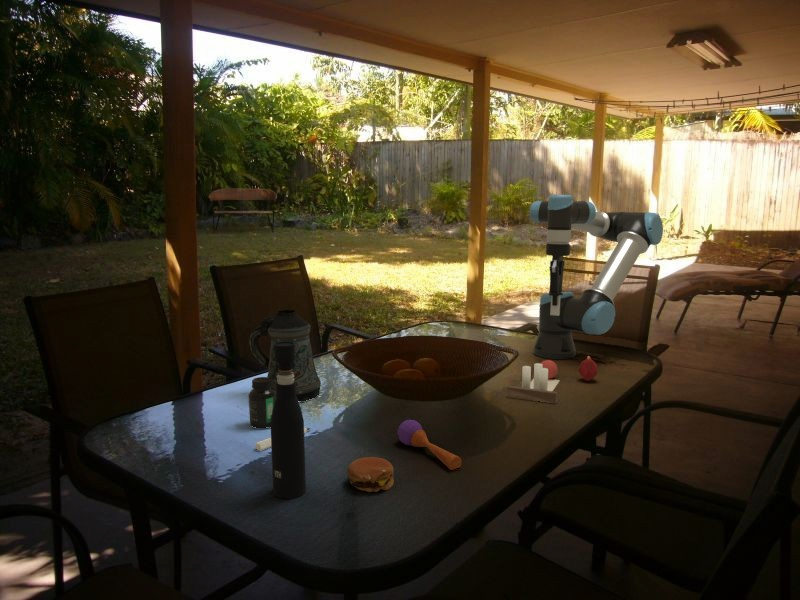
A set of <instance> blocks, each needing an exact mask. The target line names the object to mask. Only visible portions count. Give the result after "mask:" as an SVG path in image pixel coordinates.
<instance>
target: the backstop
mask: <svg viewBox="0 0 800 600" xmlns="http://www.w3.org/2000/svg"><path fill="white" fill-rule="evenodd" d="M506 398H510V399H516V400H525V401H531V400H532V401H533V402H538V401H540V402H541V403H545V402H546V403H547V404H553V405H554V404H557V402H558V391H554V390H553V391H545V390H538V389H530V388H522V386H513V385H508V386H506Z"/></svg>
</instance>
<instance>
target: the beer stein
mask: <svg viewBox="0 0 800 600" xmlns="http://www.w3.org/2000/svg"><path fill="white" fill-rule="evenodd" d="M311 326H312V325H311V324H310V323H309V322H308V321H307V320H306V319H304V318H302V317H301V316H300V315H298V314H297V313H296V310H293V309H291V310H290V309H285V310H278V311H277V312H276V314H275V315H271V316H266V317H264V318H262V321H261V322H260V325H259V326H257V327H255V328H254V329H252V330H251V331H250V336H249V339H248V340H249V342H248V343H249V348H250V351H251V353H252V355H253V356H254V358H255V359H256V361H258V362H259V364H260V365H262V366H263V367H264V368H266V369H267V370H268V371H267V376H266V377H269V378H271V379H272V387H271V388H273V389H274V390H275V391H276V383H277V382H278V381H277V379H278V378H277V376H278V373H280V372H279V371H278V369H279V363H278V362H275V352H274V344H275V343H278V342H293V343H295V361H293V362H292V371H291V372H293V375H294V382H296V397H297V399H298V401H306V400H309V399H312V398H315V397H316V396H317V395H319V396H320V391H321V385H322V384H321V383H322V382H321V379H320V377H319V375H318V373H317V372H318V371H317V369H316V365H315V362H314V361H315V360H314V357H313V356H314V355H313V350H312V344H311V340H310V332H311ZM261 336H265V337H266V336H270V349H269V358H268V357H267V356H266V355H265V354H264V353H263V351H262V350H261V348H260V346H259V338H260V337H261ZM317 397H318V396H317ZM317 397H316V398H317ZM316 398H315V399H316ZM312 400H313V399H312ZM309 401H310V400H309ZM306 402H307V401H306Z"/></svg>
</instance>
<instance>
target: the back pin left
mask: <svg viewBox="0 0 800 600" xmlns="http://www.w3.org/2000/svg"><path fill="white" fill-rule="evenodd" d="M547 388H548V369H547V368H540V374H539V390H545V391H547Z"/></svg>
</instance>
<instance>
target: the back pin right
mask: <svg viewBox="0 0 800 600" xmlns="http://www.w3.org/2000/svg"><path fill="white" fill-rule="evenodd" d="M521 368H522V371H521V373H522V374H521V387H522V388H530V382H531V380H532V379H531V377H532V376H531V372H532V367H531V366H530V365H523V366H522V367H521Z"/></svg>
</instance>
